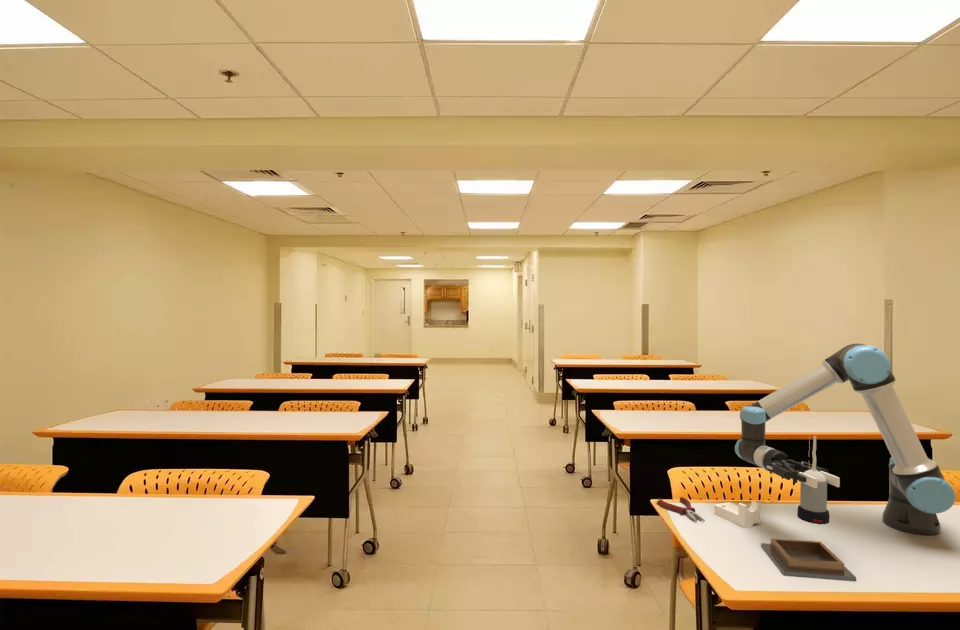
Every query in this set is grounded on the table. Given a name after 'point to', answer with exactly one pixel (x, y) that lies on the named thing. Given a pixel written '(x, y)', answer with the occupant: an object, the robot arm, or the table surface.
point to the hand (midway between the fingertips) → (827, 482)
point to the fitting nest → (806, 559)
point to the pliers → (681, 509)
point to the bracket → (739, 513)
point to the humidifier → (814, 496)
